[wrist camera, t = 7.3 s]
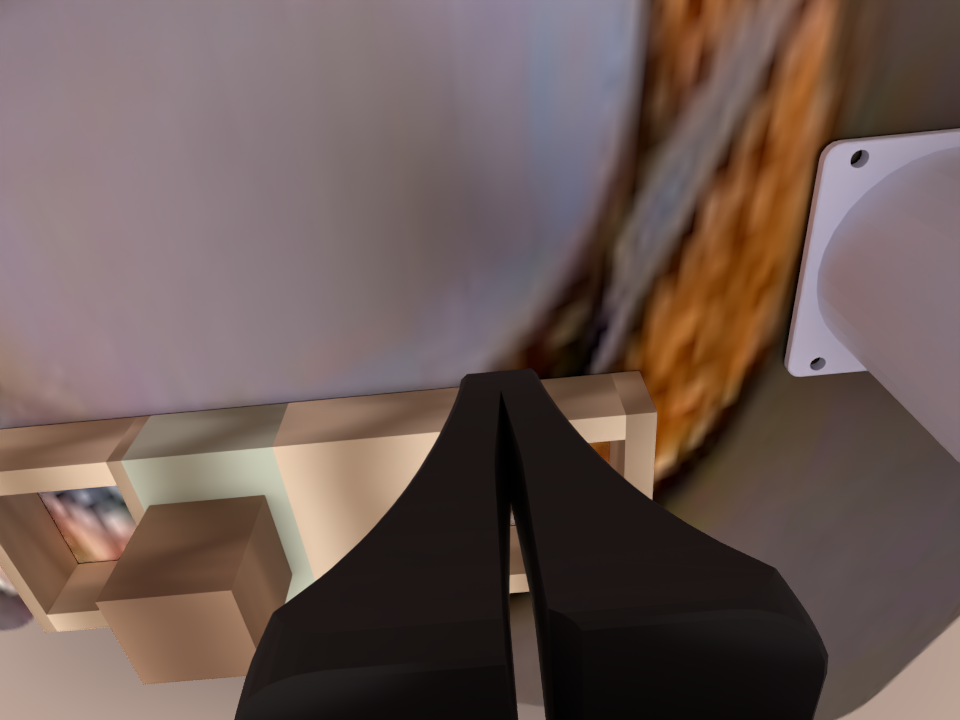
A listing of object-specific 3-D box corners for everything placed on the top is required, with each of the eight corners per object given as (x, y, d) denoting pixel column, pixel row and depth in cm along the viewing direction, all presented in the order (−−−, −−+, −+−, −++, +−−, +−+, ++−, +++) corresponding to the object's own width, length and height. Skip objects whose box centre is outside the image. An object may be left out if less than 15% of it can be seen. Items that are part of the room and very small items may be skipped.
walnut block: (264, 495, 23) (230, 590, 19) (292, 575, 25) (266, 674, 21) (149, 505, 23) (95, 602, 19) (186, 584, 25) (143, 684, 22)
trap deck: (638, 370, 24) (657, 412, 21) (632, 532, 28) (647, 581, 26) (-14, 430, 24) (-60, 477, 22) (76, 581, 28) (44, 632, 26)
